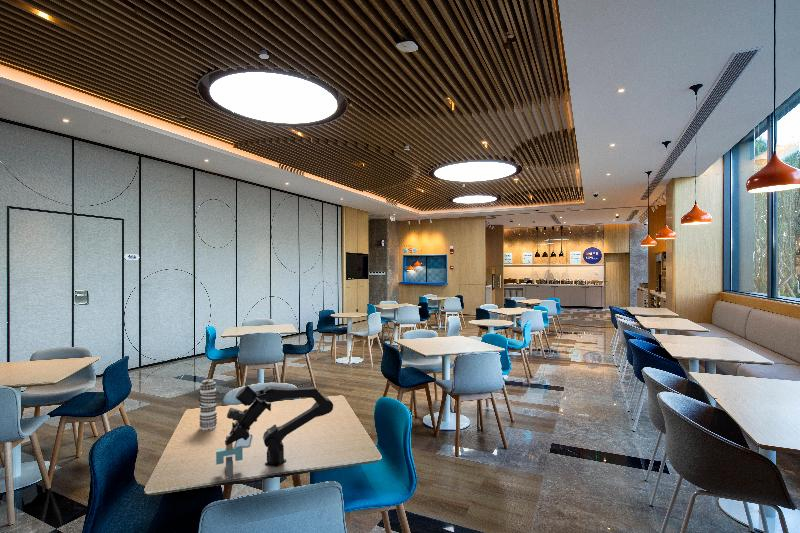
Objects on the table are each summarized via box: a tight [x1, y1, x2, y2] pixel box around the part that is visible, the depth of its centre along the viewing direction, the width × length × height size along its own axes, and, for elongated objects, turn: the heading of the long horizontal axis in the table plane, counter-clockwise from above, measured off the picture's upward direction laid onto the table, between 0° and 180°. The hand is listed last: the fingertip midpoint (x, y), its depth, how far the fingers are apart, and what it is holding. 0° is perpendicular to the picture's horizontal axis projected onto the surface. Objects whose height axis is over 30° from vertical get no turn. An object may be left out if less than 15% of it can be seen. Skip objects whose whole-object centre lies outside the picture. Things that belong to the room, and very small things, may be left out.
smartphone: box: [233, 433, 254, 449], centre depth 206 cm, size 7×1×15 cm
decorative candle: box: [198, 378, 218, 431], centre depth 227 cm, size 9×9×25 cm
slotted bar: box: [225, 455, 234, 478], centre depth 174 cm, size 12×2×5 cm, turn 23°
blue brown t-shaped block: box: [215, 434, 244, 465], centre depth 174 cm, size 10×2×10 cm, turn 113°
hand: (225, 443), depth 174 cm, fingers closed on blue brown t-shaped block, 2 cm apart
